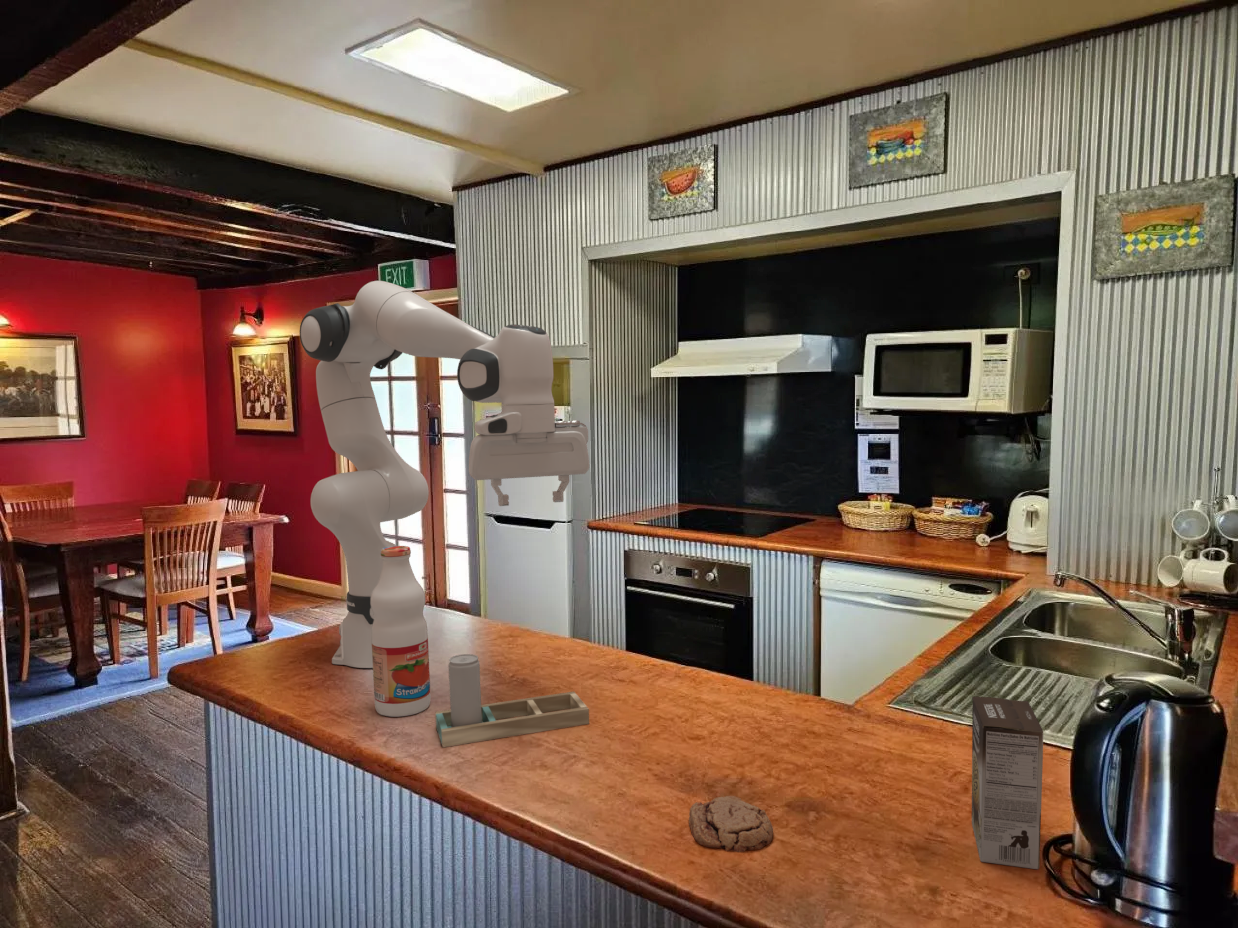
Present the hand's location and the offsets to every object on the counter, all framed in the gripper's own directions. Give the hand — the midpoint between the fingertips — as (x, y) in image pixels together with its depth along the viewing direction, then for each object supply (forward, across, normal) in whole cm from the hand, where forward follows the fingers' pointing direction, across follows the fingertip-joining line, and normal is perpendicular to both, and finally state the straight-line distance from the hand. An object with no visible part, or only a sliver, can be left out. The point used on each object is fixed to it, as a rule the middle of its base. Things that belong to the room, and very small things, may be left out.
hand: (531, 503), depth 141 cm
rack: (+35, +6, +7) cm, 36 cm away
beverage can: (+35, +13, +7) cm, 38 cm away
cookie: (+36, -12, +49) cm, 62 cm away
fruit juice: (+35, +22, -8) cm, 42 cm away
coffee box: (+35, -40, +64) cm, 83 cm away
